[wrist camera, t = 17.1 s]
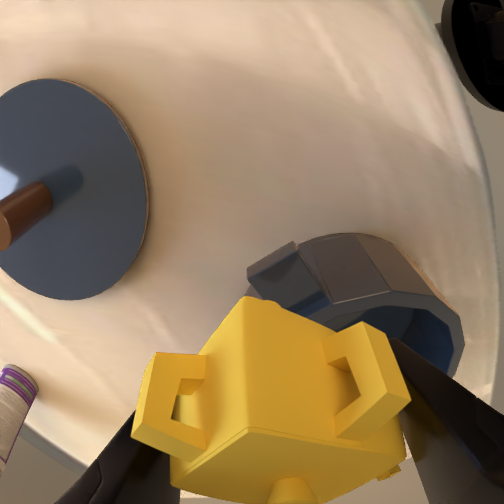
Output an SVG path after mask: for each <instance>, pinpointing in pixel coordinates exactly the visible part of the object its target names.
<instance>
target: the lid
mask: <svg viewBox="0 0 504 504" xmlns="http://www.w3.org/2000/svg"><path fill="white" fill-rule="evenodd" d="M148 201H149V197H148V187H147V179H146V174H145V170H144V165H143V162H142V159H141V156H140V153H139V150H138V147H137V145H136V143H135V141H134V139H133V137H132V135H131V133H130V131H129V129H128V128H127V126H126V125H125V123H124V122H123V120H122V119H121V117H120V116H119V115H118V114H117V113H116V111H115V110H114V109H113V108H112V107H111V106H110V105H109V104H108V103H107V102H106V101H105V100H104V99H102V98H101V97H100V96H99V95H97V94H96V93H94V92H93V91H91V90H90V89H88V88H86V87H84V86H82V85H79V84H77V83H74V82H71V81H67V80H62V79H38V80H32V81H29V82H26V83H23V84H20V85H18V86H16V87H14V88H12V89H11V90H9V91H8V92H6V93H5V94H4V95H2V96H1V97H0V267H1V268H2V269H3V270H4V271H5V272H6V273H7V274H8V275H9V276H10V277H11V278H12V279H14V280H15V281H16V282H18V283H19V284H21V285H22V286H24V287H25V288H27V289H29V290H31V291H33V292H35V293H37V294H40V295H43V296H46V297H49V298H53V299H58V300H81V299H85V298H90V297H93V296H95V295H98V294H100V293H102V292H104V291H106V290H107V289H109V288H110V287H112V286H113V285H114V284H115V283H117V282H118V281H119V280H120V279H121V278H122V277H123V275H124V274H125V273H126V272H127V271H128V269H129V268H130V266H131V264H132V263H133V261H134V260H135V258H136V256H137V254H138V252H139V249H140V247H141V245H142V242H143V238H144V235H145V231H146V226H147V219H148Z"/></svg>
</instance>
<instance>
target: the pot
mask: <svg viewBox="0 0 504 504" xmlns="http://www.w3.org/2000/svg"><path fill="white" fill-rule="evenodd" d="M247 281H248V282H249V283H250V284H251V285H250V287H249V288H248V290H247V292H246V294H245V296H251V297H254V298H258V299H261V300H270V301H274V302H276V303H278V304H279V305H280V306H281V308H283V309H286V310H288V311H290V312H293V313H295V314H297V315H300V316H302V317H305V318H307V319H309V320H312V321H314V322H316V323H318V324H321V325H323V326H325V327H327V328H329V329H331V330H333V331H335V332H340V331H342V330H344V329H346V328H349V327H351V326H353V325H355V324H357V323H359V322H361V321H363V322H365V323H367V324H368V325H370V326H372V327H374V328H376V329H378V330H380V331H381V332H383V333H385V334H386V337H387V339H390V338H397V339H398V340H400V341H401V342H403V343H404V344H405V345H407V346H408V347H409V348H411V349H412V350H414V351H415V352H416V353H418V354H419V355H420V356H422V357H423V358H425V359H426V360H427V361H429V362H430V363H432V364H433V365H434V366H436V367H437V368H438V369H440V370H441V371H442V372H444V373H445V374H447V375H448V376H449V377H451V378H453V376H454V375H455V373H456V370H457V367H458V364H459V361H460V359H461V356H462V352H463V349H464V346H465V342H464V336H463V331H462V325H461V320H460V317H459V315H458V314H457V312H456V311H455V310H454V309H453V307H452V306H451V305H450V304H449V302H448V301H447V300H446V299H445V297H444V296H443V295H442V294H441V292H440V291H439V290H438V289H437V287H436V286H435V285H434V284H433V283H432V281H431V280H430V279H429V278H428V277H427V276H426V274H425V273H424V272H423V271H422V270H421V269H420V267H419V266H418V265H417V264H416V263H415V262H414V261H413V260H412V259H411V258H409V257H408V256H407V255H406V254H405V253H404V252H403V251H402V250H401V249H400V248H398V247H397V246H395V245H394V244H392V243H391V242H388V241H386V240H384V239H382V238H379V237H375V236H372V235H367V234H360V233H339V234H331V235H326V236H322V237H318V238H314V239H311V240H309V241H306V242H304V243H301V244H299V245H297V246H296V244H295V243H294V242H293V241H291V242H290V243H288V244H286V245H285V246H283V247H281V248H280V249H278V250H276V251H275V252H273V253H271V254H270V255H268V256H266V257H265V258H263V259H261V260H260V261H258V262H256V263H254V264H253V265H251V266H249V267H248V268H247Z"/></svg>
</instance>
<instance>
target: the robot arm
mask: <svg viewBox="0 0 504 504" xmlns="http://www.w3.org/2000/svg"><path fill="white" fill-rule="evenodd" d="M474 8H475V9H474ZM468 9H469V13H470V16H471V20H472V24H473V28H474V32H475V36H476V41H477V45H478V50H479V55H480V60H481V66H482V72H483V78H484V81H485V82H486V83H487V84H491V85H504V9H502V8H498V7H494V6H489V5H485V4H481V3H476V2H472V3H469V4H468ZM489 76H490V80H489ZM388 342H389V344H390V346H391V349H392V351H393V354H394V356H395V359H396V361H397V364H398V366H399V369H400V371H401V374H402V376H403V379H404V382H405V384H406V387H407V390H408V392H409V395H410V398H411V401H410V402H409V403H408V404H407V405H406V406H405V407H404V408H403V409H402V410H401V411H399V412H398V413H399V418H400V422H401V427H402V431H403V434H404V436H405V439H406V441H407V444H408V446H409V449H410V452H411V454H412V457H413V459H414V462H415V465H416V467H417V470H418V473H419V476H420V479H421V481H422V484H423V487H424V490H425V493H426V496H427V498H428V501H429V504H504V415H502V414H501V413H499V412H498V411H496V410H495V409H493V408H492V407H491V406H489V405H488V404H486V403H485V402H483V401H482V400H481V399H479V398H476V396H475V395H474V394H472V393H471V392H470V391H468V390H467V389H466V388H464V387H463V386H462V385H460V384H459V383H458V382H456V381H455V380H453V379H452V378H451V377H449V376H448V375H447V374H445V373H444V372H442V371H441V370H440V369H438V368H437V367H436V366H434V365H433V364H432V363H430V362H429V361H427V360H426V359H425V358H423V357H422V356H420V355H419V354H418V353H416V352H415V351H414V350H412V349H411V348H409V347H408V346H407V345H405V344H404V343H403V342H401V341H400V340H398V339H397V338H390V339H388ZM135 412H136V410H135V411H134V412H133V414H132V415H131V416H130V417H129V418H128V420H127V421H126V422H125V423H124V425H123V426H122V427H121V428H120V430H119V431H118V432H117V433H116V435H115V436H114V437H113V438H112V440H111V441H110V442H109V443H108V445H107V446H106V447H105V448H104V450H103V451H102V452H101V453H100V455H99V456H98V457H97V459H95V461H94V462H93V463H92V464H91V466H90V467H89V468H88V469H87V470H86V471H85V473H84V474H83V475H82V476H81V477H80V478H79V479H78V480H77V482H75V483H74V485H73V486H72V487H71V488H70V489H69V490H68V491H67V492H66V493H65V494H63V496H61V497H60V498H59V499H58V500H57V501H56V502H55V503H54V504H179V502H180V489H178V488H176V487H173V486H172V485H171V484H170V454H167V453H165V452H163V451H160V450H158V449H156V448H154V447H151V446H149V445H147V444H145V443H143V442H140V441H138V440H136V439H134V438H132V437H131V432H132V427H133V422H134V417H135ZM172 413H173V411H172ZM171 419H172V415H171Z"/></svg>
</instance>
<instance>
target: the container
mask: <svg viewBox="0 0 504 504" xmlns="http://www.w3.org/2000/svg"><path fill="white" fill-rule="evenodd" d="M37 393H38V387H37V385H36V383H35V381H34V380H33V379H32V378H31V377H30V376H29V375H28V374H27V373H26V372H24V371H23V370H22V369H20V368H18V367H16V366H14V365H5V367H4V368H3V370H2V371H1V373H0V477H1V475H2V472H3V470H4V467H5V465H6V463H7V460H8V458H9V455H10V453H11V450H12V448H13V445H14V443H15V441H16V438H17V436H18V434H19V431H20V429H21V427H22V425H23V422H24V420H25V418H26V416H27V414H28V411H29V409H30V407H31V405H32V403H33V401H34V399H35V397H36V395H37Z"/></svg>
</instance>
